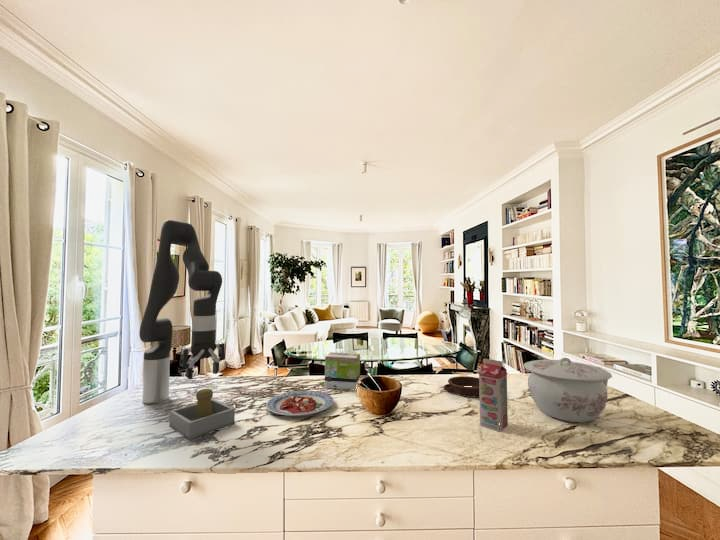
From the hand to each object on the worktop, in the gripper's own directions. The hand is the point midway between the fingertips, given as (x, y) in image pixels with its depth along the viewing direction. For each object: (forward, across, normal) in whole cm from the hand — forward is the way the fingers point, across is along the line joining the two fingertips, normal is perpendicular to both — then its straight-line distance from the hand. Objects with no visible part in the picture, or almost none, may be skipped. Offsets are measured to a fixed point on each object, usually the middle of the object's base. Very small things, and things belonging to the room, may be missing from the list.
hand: (202, 376), depth 111 cm
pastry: (+17, -2, -12) cm, 21 cm away
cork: (+16, -1, 0) cm, 16 cm away
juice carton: (+15, -62, +77) cm, 100 cm away
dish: (+16, -90, +58) cm, 109 cm away
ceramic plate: (+17, -32, +13) cm, 39 cm away
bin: (+16, 0, 0) cm, 16 cm away
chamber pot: (+15, -88, +95) cm, 131 cm away
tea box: (+16, -61, +9) cm, 64 cm away
